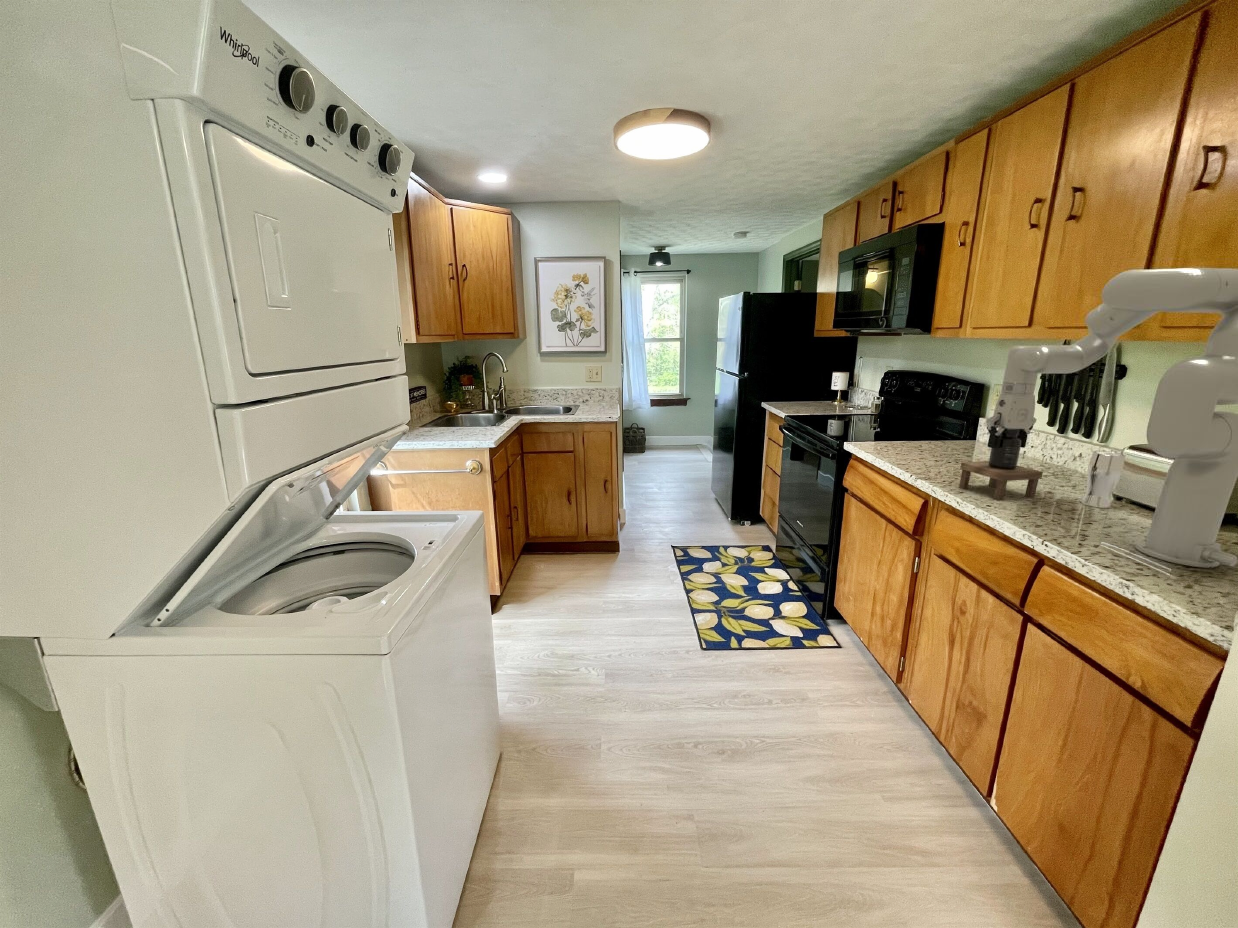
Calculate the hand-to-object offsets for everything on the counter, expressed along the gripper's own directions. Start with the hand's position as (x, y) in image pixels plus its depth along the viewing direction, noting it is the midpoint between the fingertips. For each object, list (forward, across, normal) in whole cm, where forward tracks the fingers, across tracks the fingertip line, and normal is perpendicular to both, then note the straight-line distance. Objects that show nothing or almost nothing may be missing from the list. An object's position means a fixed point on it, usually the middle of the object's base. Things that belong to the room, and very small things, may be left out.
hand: (1006, 447), depth 149 cm
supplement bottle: (+6, 0, 0) cm, 6 cm away
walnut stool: (+14, 0, 0) cm, 14 cm away
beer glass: (+14, +18, -14) cm, 27 cm away
